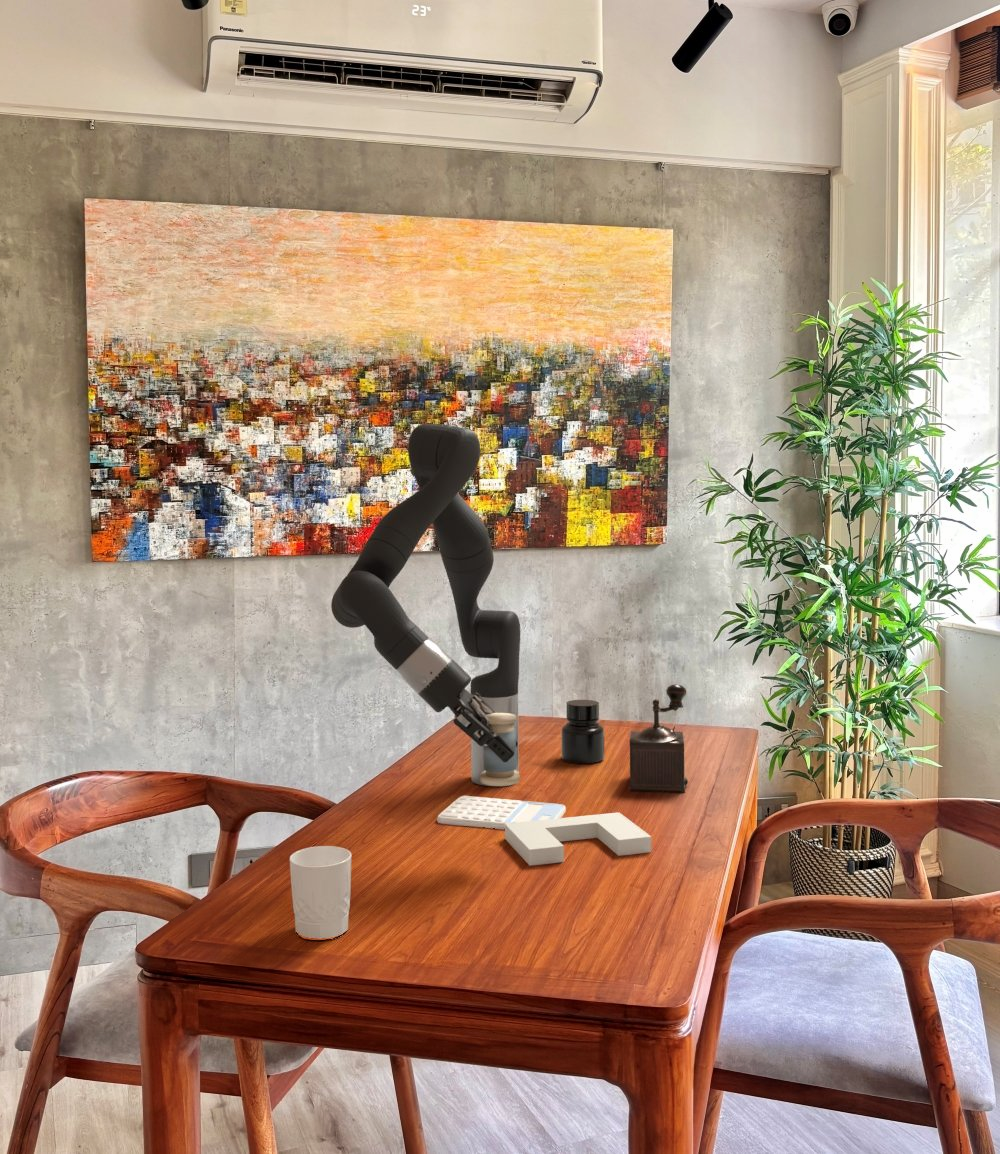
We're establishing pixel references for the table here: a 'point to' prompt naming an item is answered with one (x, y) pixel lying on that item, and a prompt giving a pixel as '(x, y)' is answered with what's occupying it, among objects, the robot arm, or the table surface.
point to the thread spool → (494, 766)
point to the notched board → (575, 836)
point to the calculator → (497, 812)
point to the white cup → (321, 890)
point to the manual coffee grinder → (659, 752)
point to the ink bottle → (582, 733)
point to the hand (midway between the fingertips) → (512, 752)
